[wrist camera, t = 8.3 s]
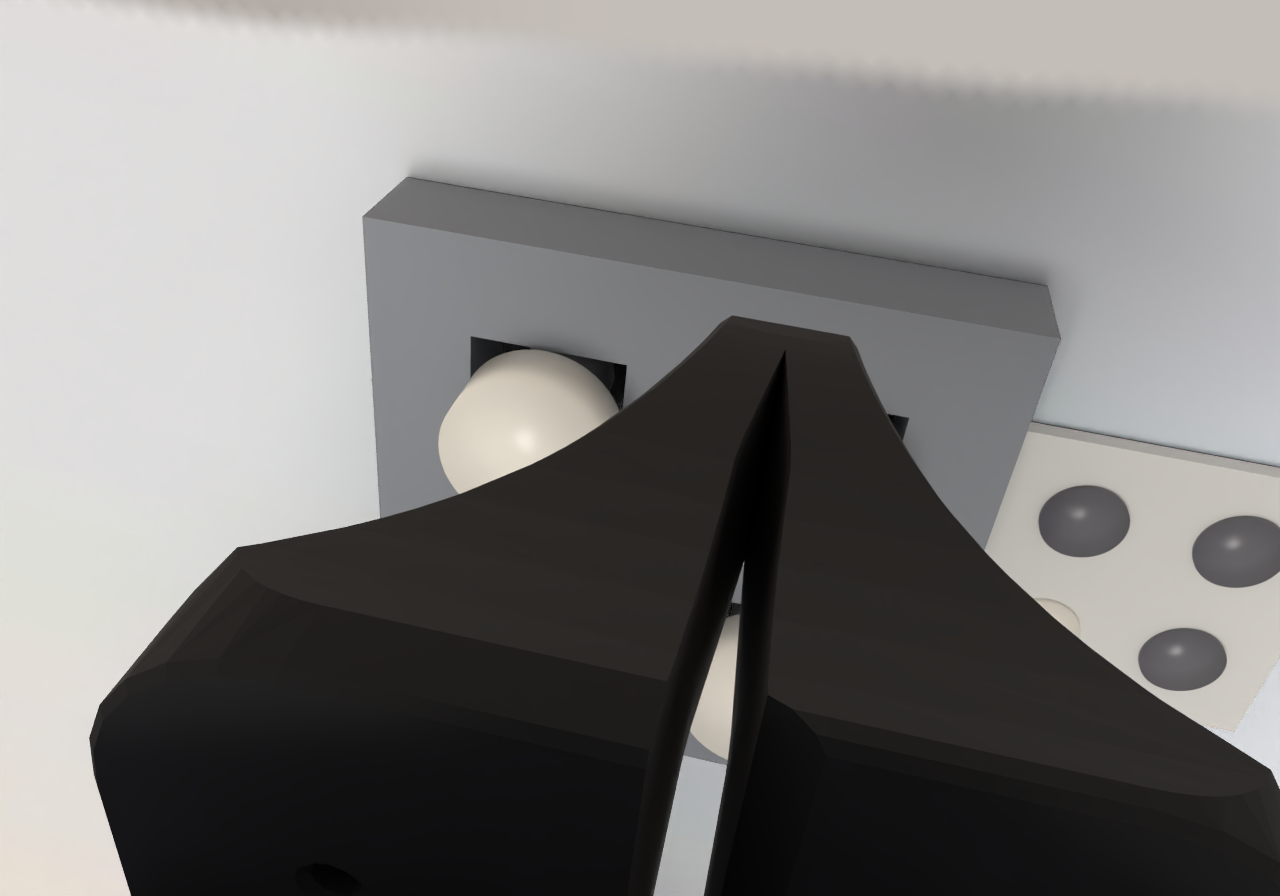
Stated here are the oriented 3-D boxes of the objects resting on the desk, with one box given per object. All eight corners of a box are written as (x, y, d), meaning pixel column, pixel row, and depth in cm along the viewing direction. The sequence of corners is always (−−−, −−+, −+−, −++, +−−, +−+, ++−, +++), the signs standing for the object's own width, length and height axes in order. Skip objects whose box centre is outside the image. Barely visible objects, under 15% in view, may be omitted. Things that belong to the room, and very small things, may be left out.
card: (1371, 484, 22) (1381, 500, 21) (1230, 719, 25) (1235, 736, 25) (1016, 419, 22) (1019, 433, 22) (933, 656, 26) (934, 672, 26)
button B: (859, 564, 25) (852, 677, 22) (831, 665, 27) (821, 783, 24) (716, 535, 25) (690, 643, 22) (698, 637, 27) (672, 749, 24)
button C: (653, 314, 23) (614, 403, 20) (638, 445, 25) (601, 546, 22) (498, 286, 23) (436, 370, 20) (495, 418, 25) (439, 513, 22)
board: (1047, 285, 21) (1060, 338, 19) (894, 734, 28) (893, 803, 26) (406, 177, 22) (362, 216, 20) (421, 630, 30) (390, 688, 28)
